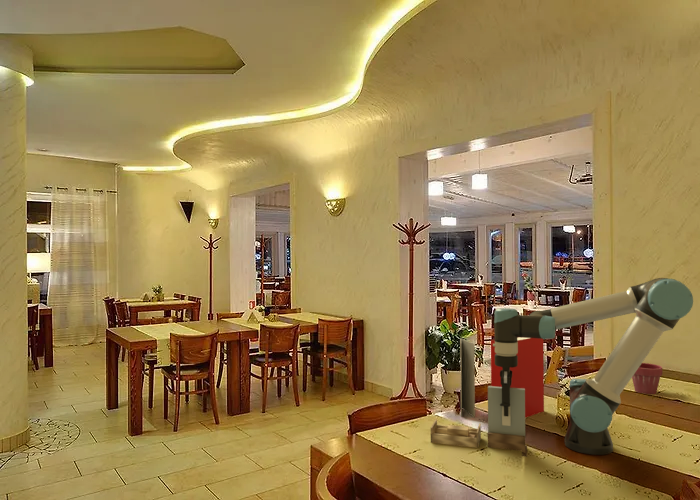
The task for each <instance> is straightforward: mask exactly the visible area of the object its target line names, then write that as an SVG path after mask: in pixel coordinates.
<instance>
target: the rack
mask: <svg viewBox="0 0 700 500" xmlns="http://www.w3.org/2000/svg"><path fill="white" fill-rule="evenodd" d="M477 426H478V427H477V428H473V427H472V428H470V427H469V434H472V435H475V438H472V437H463V436H453V435H447V428H448V425H441V424H438V419H437V418H435V419H434V421H433V423H432V424H431V426H430V443H431V444H433V443H434V444H439V445H440V444H441V445H442V444H443V445H450V446H459V447H467V448H477V449H478V448H479V446H480V442H481V437H482V427H481V426H482V425H481V423H479V424H478V425H477Z"/></svg>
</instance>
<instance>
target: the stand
mask: <svg viewBox="0 0 700 500" xmlns="http://www.w3.org/2000/svg"><path fill="white" fill-rule="evenodd" d="M487 448H492V449H499V450H500V449H502V450H510V451H518V452H519V451H520V452H521V456H522V457H528V445H526V435H525V436H521V435H511V434H501V433H492V432H488V431H487Z"/></svg>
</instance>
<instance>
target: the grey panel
mask: <svg viewBox="0 0 700 500" xmlns="http://www.w3.org/2000/svg"><path fill="white" fill-rule="evenodd" d="M500 404H502V387H496V386H491V385H488V386H487V433H488V432H492V433H501V434H511V435H521V436H525V437H526V418H525V389H522V388H510V417H511V426H506V425H502V406H500Z"/></svg>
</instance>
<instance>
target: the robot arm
mask: <svg viewBox="0 0 700 500" xmlns="http://www.w3.org/2000/svg"><path fill="white" fill-rule="evenodd" d="M693 305H694V296H693V293H692V292H691V289H690V288H688V286H687V285H686V284H684V283H683V282H681V281H679V280H677V279H673V278H667V277H656V278H654V279H651V280H649V281H648V280H647V281H645V282H643V283H639V284H635V285H632V286H629V287H628V288H627V290H624V291H620V292H615V293H613V294H612V293H611V294H608V295H604V296H598V297H595V298H591V299H586V300H582V301H578V302H574V303H573V302H572V303H569V304H565V305H561V306H556V307H552V308H549V309H544V310H535V311H532V312H531V313H530V314H529V315H523V314H519V313H518V310H517V309H516V308H508V307H507V308H506V307H504V308H502V307H500V308H497V309H495V310H494V321H493V324H494V325H493V327H494V329H493V330H494V339H495V344H493V346H494V347H495V353H497V354H495V365H496V366H499V367H502V370H500V377H501V385H502V404H500V406H502V425H506V426H511V417H510V388H511V383H512V371H511V370H510V367H512V368H513V367H517V365H518V356H517V355H516V354H517V353H518V341H517V338H518V337H521V338H522V337H524V338H539V339H543V340H553V339H555V338H556V330H560V329H564V328H570V327H574V326H579V325H583V324H588V323H592V322H597V321H603V320H606V319H612V318H616V317H621V316H625V315H630V314H635V317H634V318H633V320H632V321H631V323H630V324H629V325H628V327H627V329H626V330H625V332H624V333H623V335H622V336H621V338H620V339H619V340H618V342H617V344H616V345H614V348H613V349H612V350H611V352H610V353H609V356H608V357H607V358H606V359H605V361H604V362H603V364H602V366H600V369H598V371H597V373H596V374H595V376H594V377H593V378H588V379H587V378H572V379H571V380H570V381H569V385H568V386H569V387H568V388H569V424H568V427H567V430H566V432H565V435H564V445H565V447H567V448H568V449H570V450H572V451H575V452H577V453H581V454H586V455H594V456H595V455H597V456H598V455H599V456H603V455H608V454H611V453H613V452H614V442H613V440H612V437H611V434H610V431H609V426H610V425H611V424H612V421H613V415H614V414H615V412H616V411H617V409H618V407H620V405H621V403H622V400H621V396H620V395H621V394H622V392H623V391H624V389H625V388H626V387H627V385H628V383H629V382H630V381H631V380H632V376H633V375H634V374H635V372H636V371H637V369H638V368H639V366H640V365H641V364H642V363H644V361H645V359H646V358H647V356H648V355H649V354H650V352H651V350H652V349H653V348H654V347H655V345H656V343H657V342H658V341H659V339H660V338H661V336H662V335H663V333H664V332H668V331H671V330H674V328H675V327H676V326H677V324H678V322H679V320H680V319H682V318H684V317H685V316H687V315H688V314H689V313H690V312H691V310H692V309H693Z"/></svg>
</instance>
